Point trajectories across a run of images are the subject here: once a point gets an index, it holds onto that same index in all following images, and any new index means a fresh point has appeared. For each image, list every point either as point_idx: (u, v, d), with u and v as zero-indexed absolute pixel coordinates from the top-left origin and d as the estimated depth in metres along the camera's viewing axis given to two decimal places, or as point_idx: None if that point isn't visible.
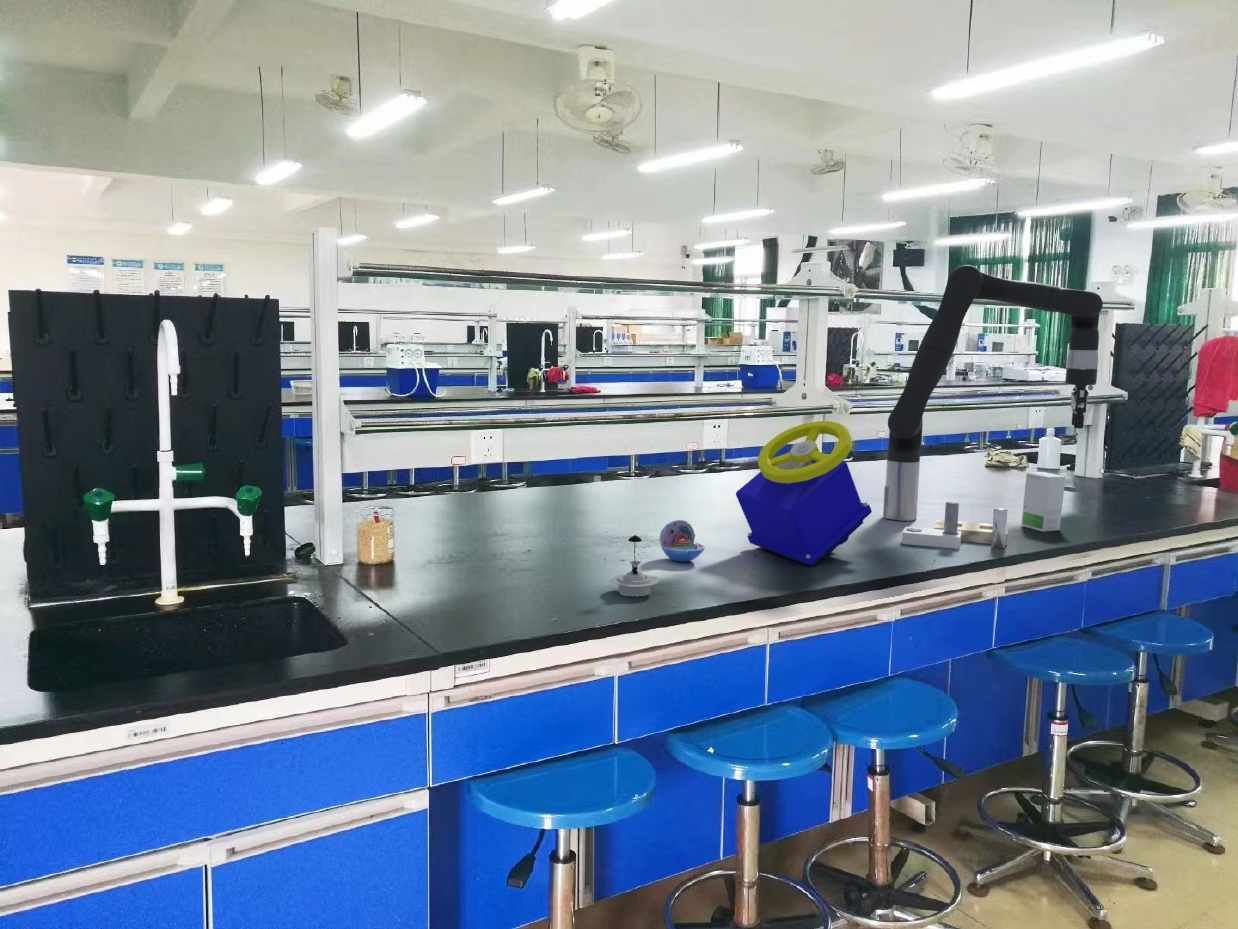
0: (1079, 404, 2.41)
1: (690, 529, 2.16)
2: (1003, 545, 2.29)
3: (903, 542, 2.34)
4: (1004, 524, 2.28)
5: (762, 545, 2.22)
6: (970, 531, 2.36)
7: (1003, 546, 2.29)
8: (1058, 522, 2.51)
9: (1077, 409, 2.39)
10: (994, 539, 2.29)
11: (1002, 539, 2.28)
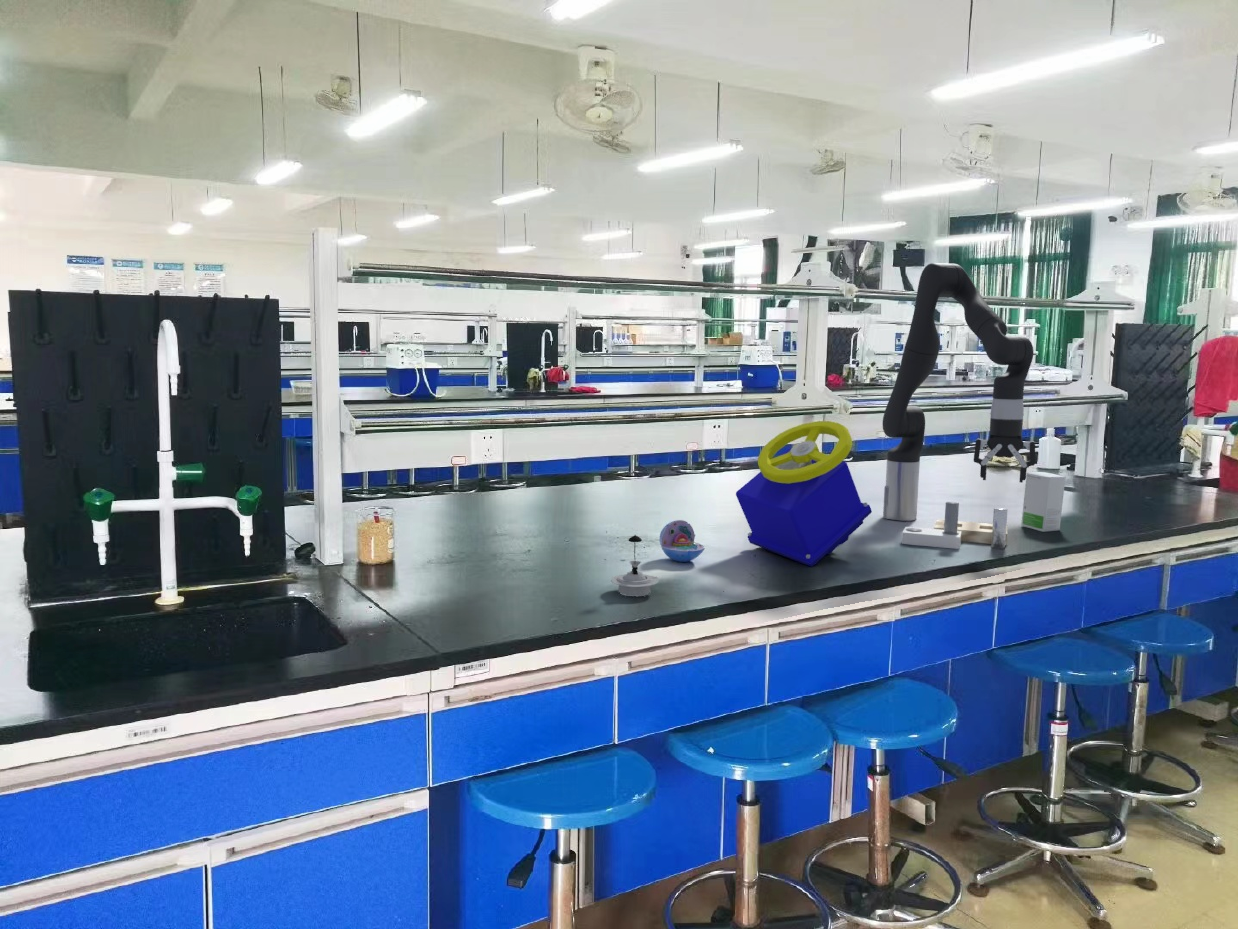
0: (1021, 457, 2.25)
1: (690, 529, 2.16)
2: (1003, 545, 2.29)
3: (903, 542, 2.34)
4: (1004, 524, 2.28)
5: (762, 545, 2.22)
6: (970, 531, 2.36)
7: (1003, 546, 2.29)
8: (1058, 522, 2.51)
9: None
10: (994, 539, 2.29)
11: (1002, 539, 2.28)
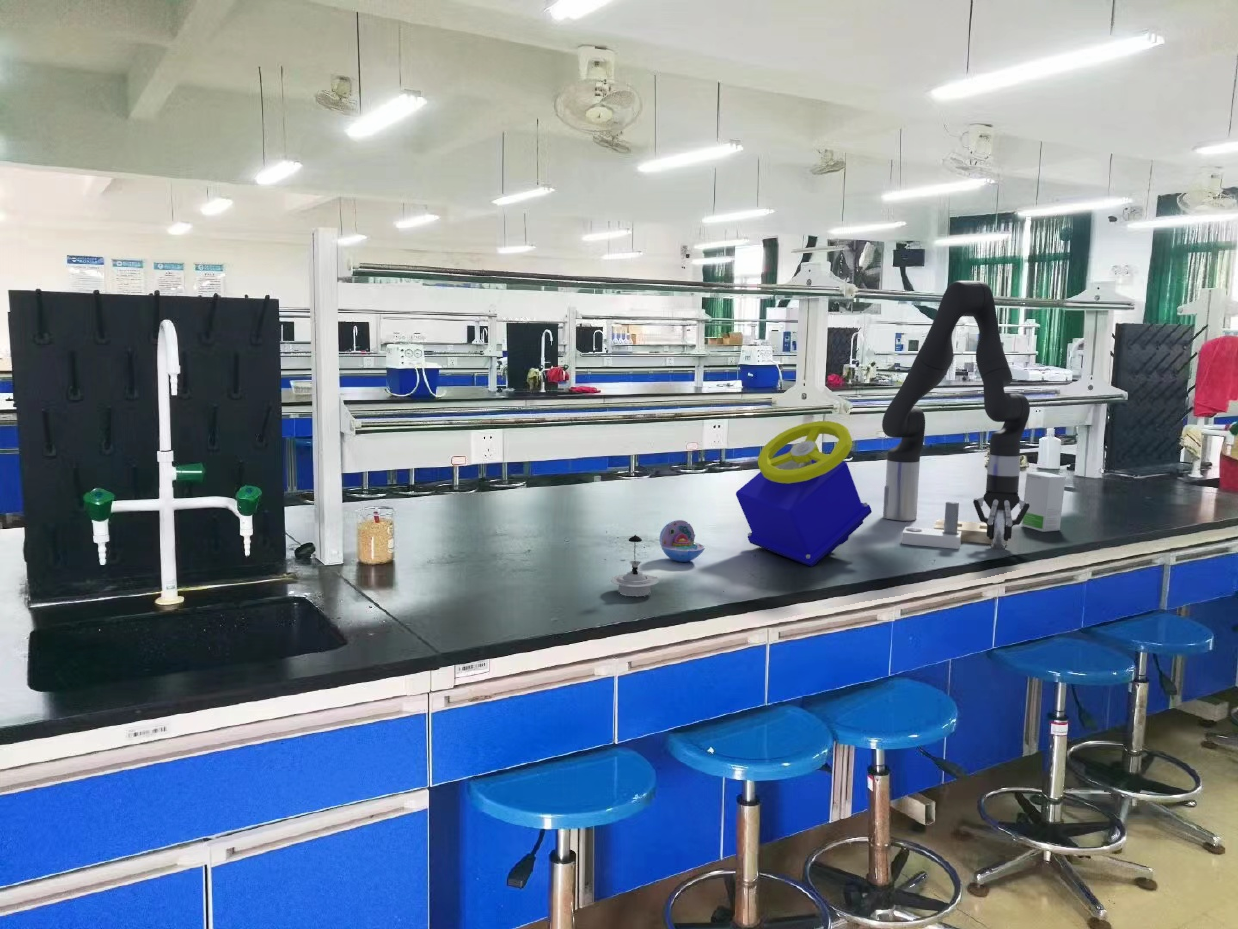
0: (1010, 515, 2.28)
1: (690, 529, 2.16)
2: (1003, 545, 2.29)
3: (903, 542, 2.34)
4: (1004, 524, 2.28)
5: (762, 545, 2.22)
6: (970, 531, 2.36)
7: (1003, 546, 2.29)
8: (1058, 522, 2.51)
9: None
10: (994, 539, 2.29)
11: (1002, 539, 2.28)
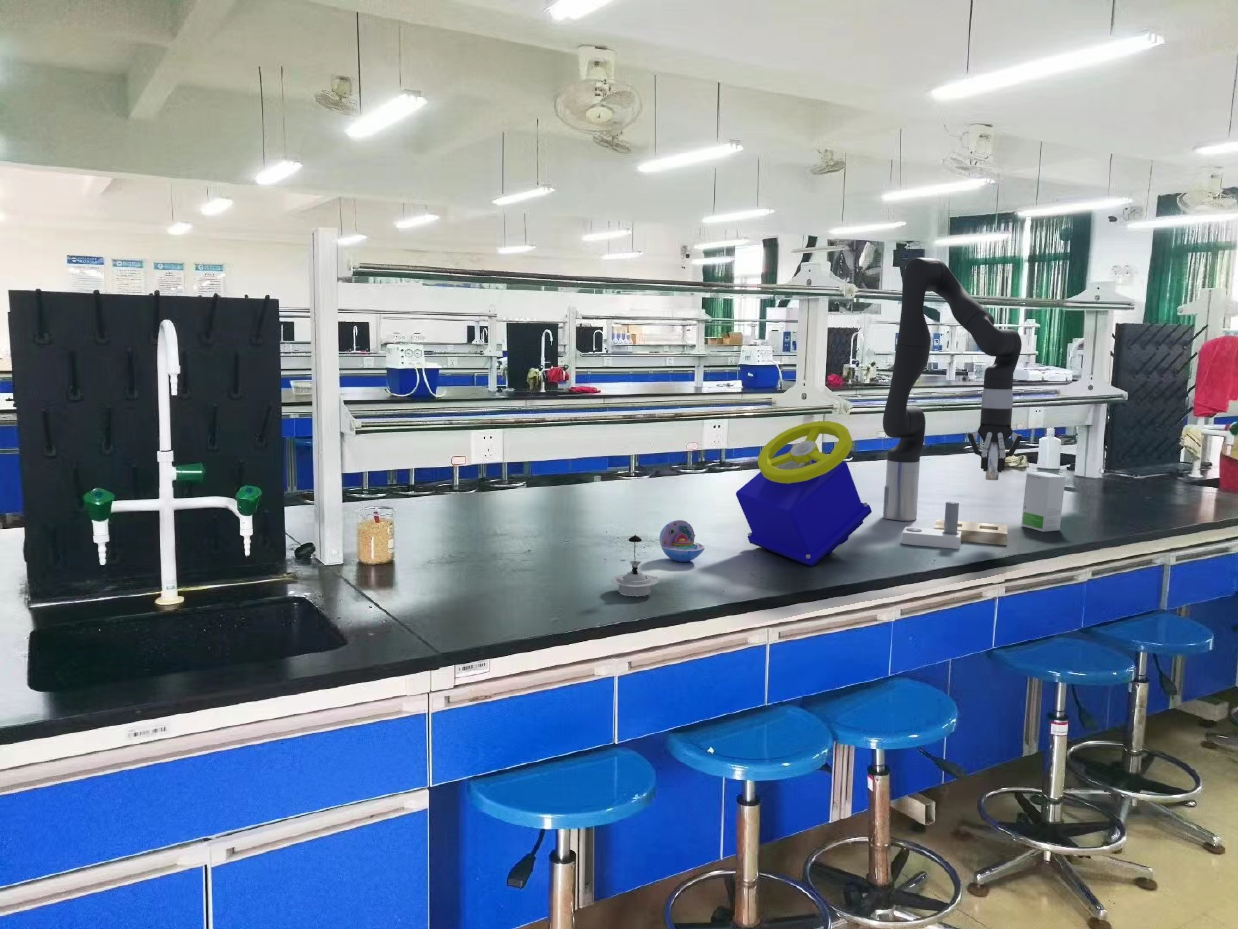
0: None
1: (690, 529, 2.16)
2: (997, 476, 2.37)
3: (903, 542, 2.34)
4: (997, 456, 2.36)
5: (762, 545, 2.22)
6: (970, 531, 2.36)
7: (997, 477, 2.37)
8: (1058, 522, 2.51)
9: None
10: (987, 471, 2.37)
11: (996, 471, 2.36)
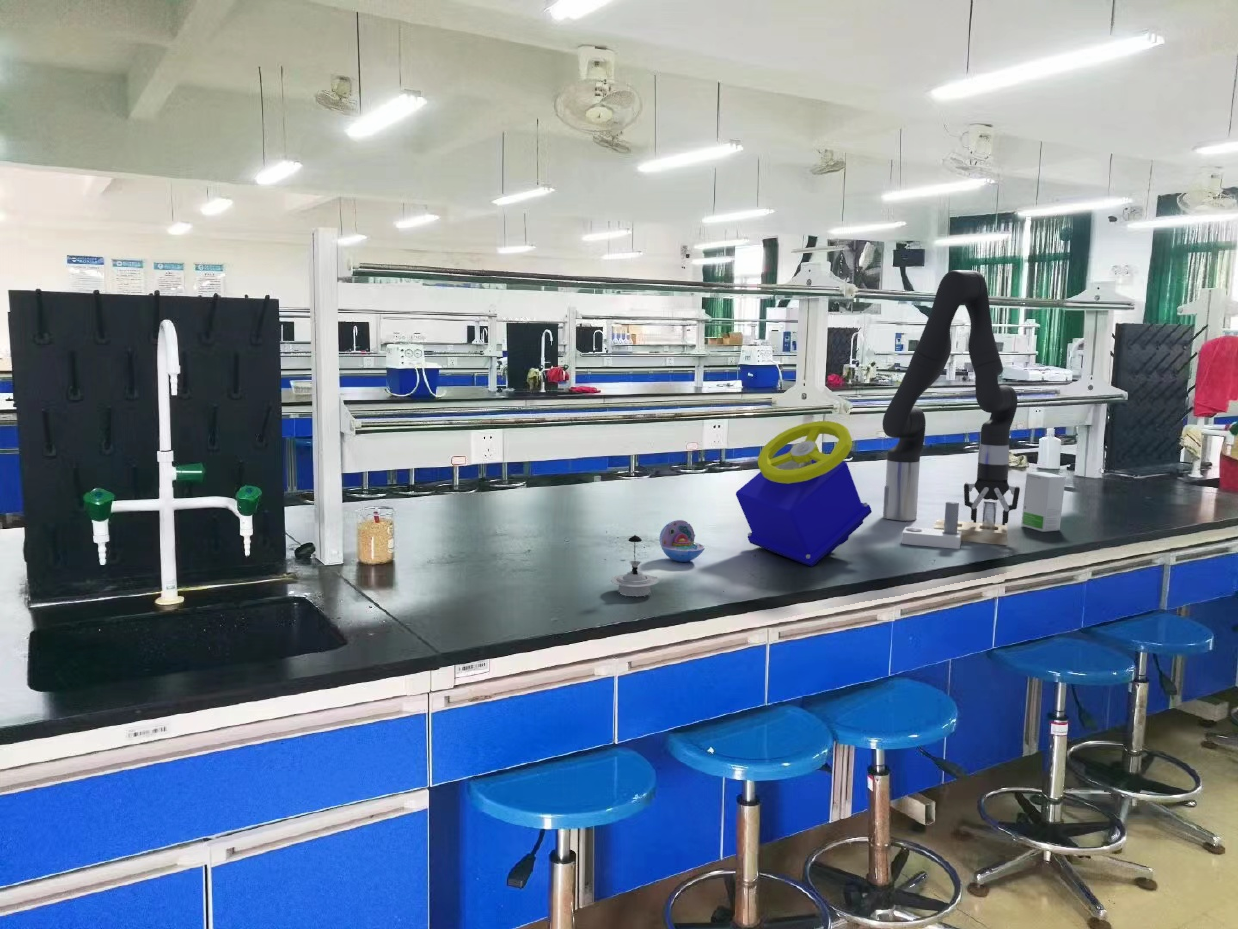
0: (1005, 500, 2.37)
1: (690, 529, 2.16)
2: None
3: (903, 542, 2.34)
4: (993, 516, 2.38)
5: (762, 545, 2.22)
6: (970, 531, 2.36)
7: None
8: (1058, 522, 2.51)
9: None
10: None
11: None
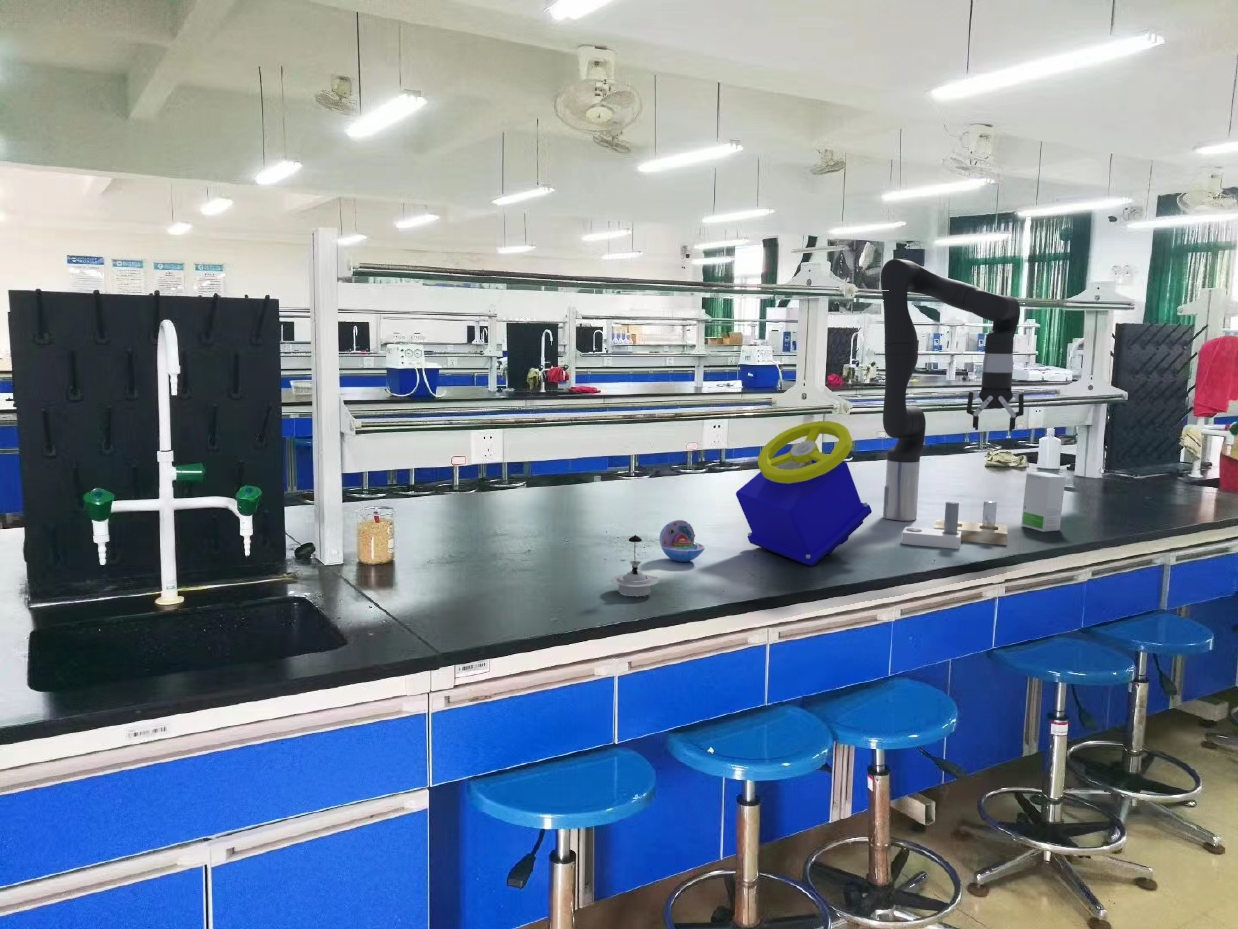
0: (1010, 407, 2.42)
1: (690, 529, 2.16)
2: None
3: (903, 542, 2.34)
4: (993, 516, 2.38)
5: (762, 545, 2.22)
6: (970, 531, 2.36)
7: None
8: (1058, 522, 2.51)
9: None
10: None
11: None
